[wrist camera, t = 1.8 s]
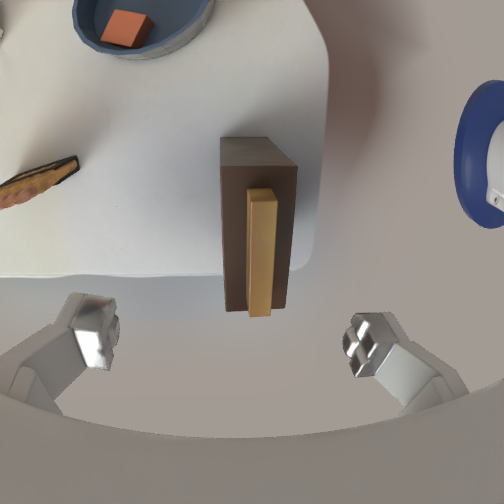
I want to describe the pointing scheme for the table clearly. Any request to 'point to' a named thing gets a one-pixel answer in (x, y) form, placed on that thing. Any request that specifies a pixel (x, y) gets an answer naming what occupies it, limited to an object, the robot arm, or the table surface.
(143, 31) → the block
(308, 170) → the table surface
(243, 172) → the brown thick block
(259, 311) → the tan wooden bar
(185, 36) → the bowl
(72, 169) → the ammunition clip
